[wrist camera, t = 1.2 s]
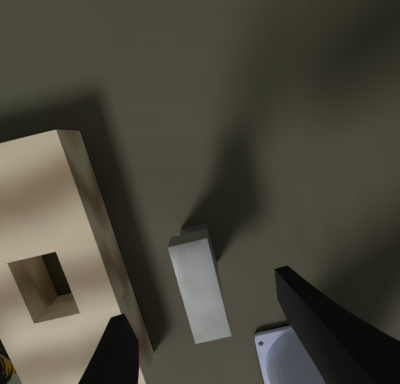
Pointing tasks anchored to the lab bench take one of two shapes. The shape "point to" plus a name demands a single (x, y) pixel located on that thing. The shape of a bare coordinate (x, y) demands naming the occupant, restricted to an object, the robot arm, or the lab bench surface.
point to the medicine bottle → (6, 370)
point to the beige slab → (68, 256)
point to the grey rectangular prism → (199, 283)
